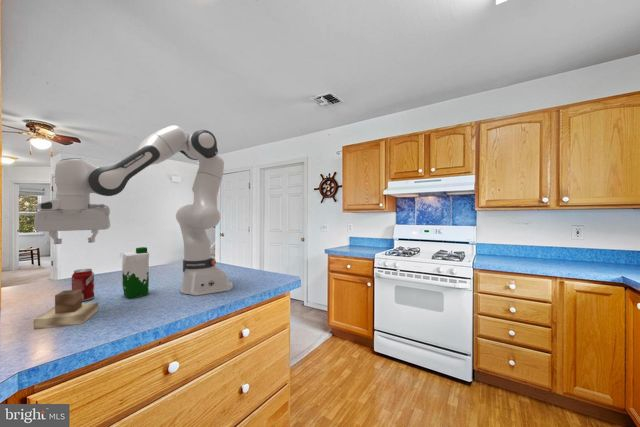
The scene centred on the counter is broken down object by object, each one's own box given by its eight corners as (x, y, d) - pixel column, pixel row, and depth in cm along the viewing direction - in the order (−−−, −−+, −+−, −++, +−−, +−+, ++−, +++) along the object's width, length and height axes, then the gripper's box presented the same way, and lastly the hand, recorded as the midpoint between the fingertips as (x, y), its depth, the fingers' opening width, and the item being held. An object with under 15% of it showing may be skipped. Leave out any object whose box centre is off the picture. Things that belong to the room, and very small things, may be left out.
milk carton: (151, 295, 115) (150, 248, 114) (125, 300, 108) (125, 250, 108) (145, 290, 121) (145, 246, 120) (120, 295, 114) (120, 248, 114)
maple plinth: (98, 310, 98) (98, 302, 98) (82, 323, 86) (82, 314, 86) (55, 314, 93) (55, 305, 93) (33, 329, 82) (33, 319, 82)
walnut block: (81, 306, 93) (81, 289, 93) (74, 311, 88) (74, 293, 88) (63, 308, 91) (63, 290, 91) (55, 313, 87) (54, 295, 87)
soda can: (81, 303, 104) (80, 272, 104) (67, 301, 105) (66, 271, 105) (98, 297, 111) (98, 268, 110) (85, 296, 112) (85, 267, 112)
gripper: (112, 204, 101) (113, 240, 102) (41, 204, 94) (43, 243, 94) (106, 204, 96) (107, 242, 96) (29, 204, 88) (31, 246, 89)
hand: (75, 243), depth 95 cm, fingers open, 8 cm apart
